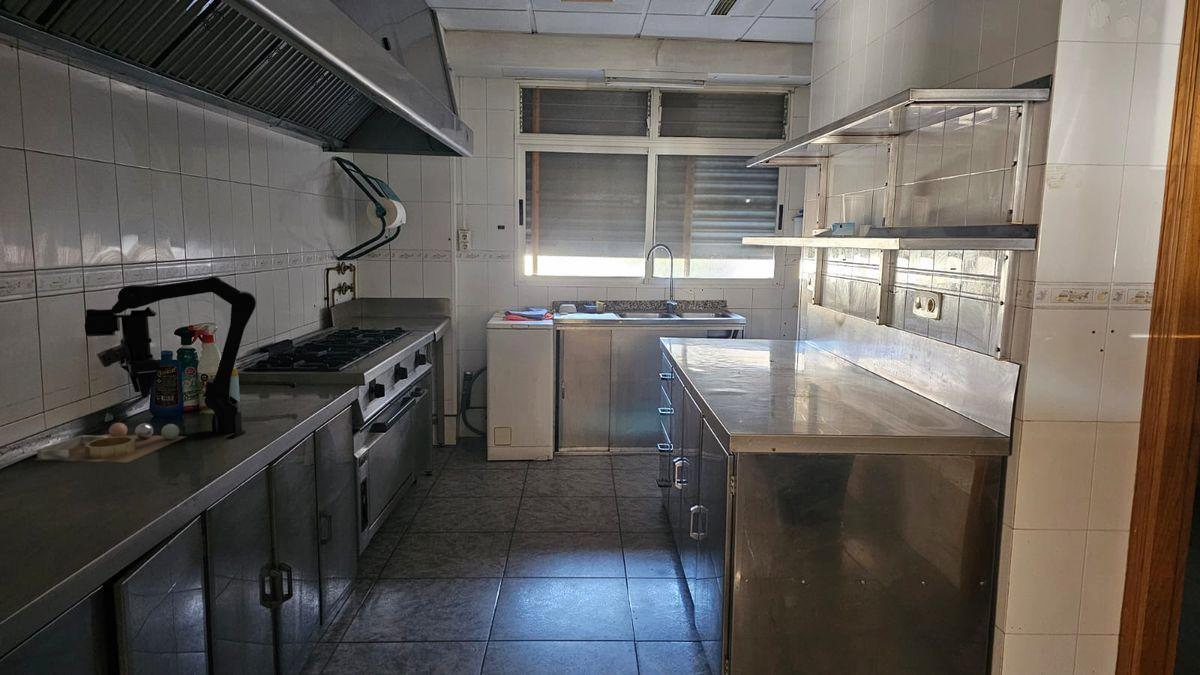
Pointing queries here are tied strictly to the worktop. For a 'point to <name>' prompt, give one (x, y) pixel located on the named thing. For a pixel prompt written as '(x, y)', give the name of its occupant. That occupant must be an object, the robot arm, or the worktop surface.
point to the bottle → (235, 384)
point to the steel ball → (144, 431)
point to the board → (76, 452)
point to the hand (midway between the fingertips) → (141, 394)
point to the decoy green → (170, 431)
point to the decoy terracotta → (118, 430)
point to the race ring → (110, 447)
